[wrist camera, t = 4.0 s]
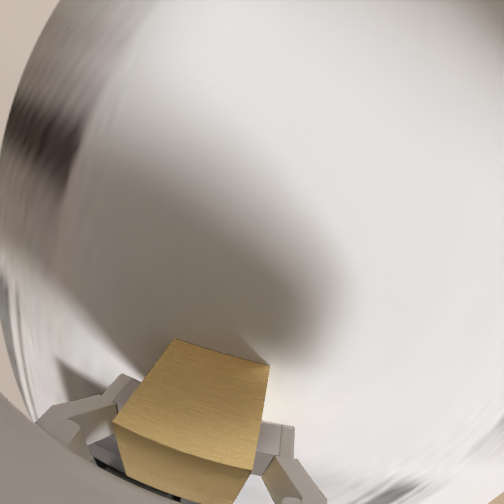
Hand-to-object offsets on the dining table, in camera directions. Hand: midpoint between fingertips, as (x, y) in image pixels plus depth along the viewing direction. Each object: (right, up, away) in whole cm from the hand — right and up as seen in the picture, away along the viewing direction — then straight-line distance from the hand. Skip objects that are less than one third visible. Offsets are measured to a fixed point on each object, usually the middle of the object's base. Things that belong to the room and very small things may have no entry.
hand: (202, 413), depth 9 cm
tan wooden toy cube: (0, 0, +2) cm, 2 cm away
